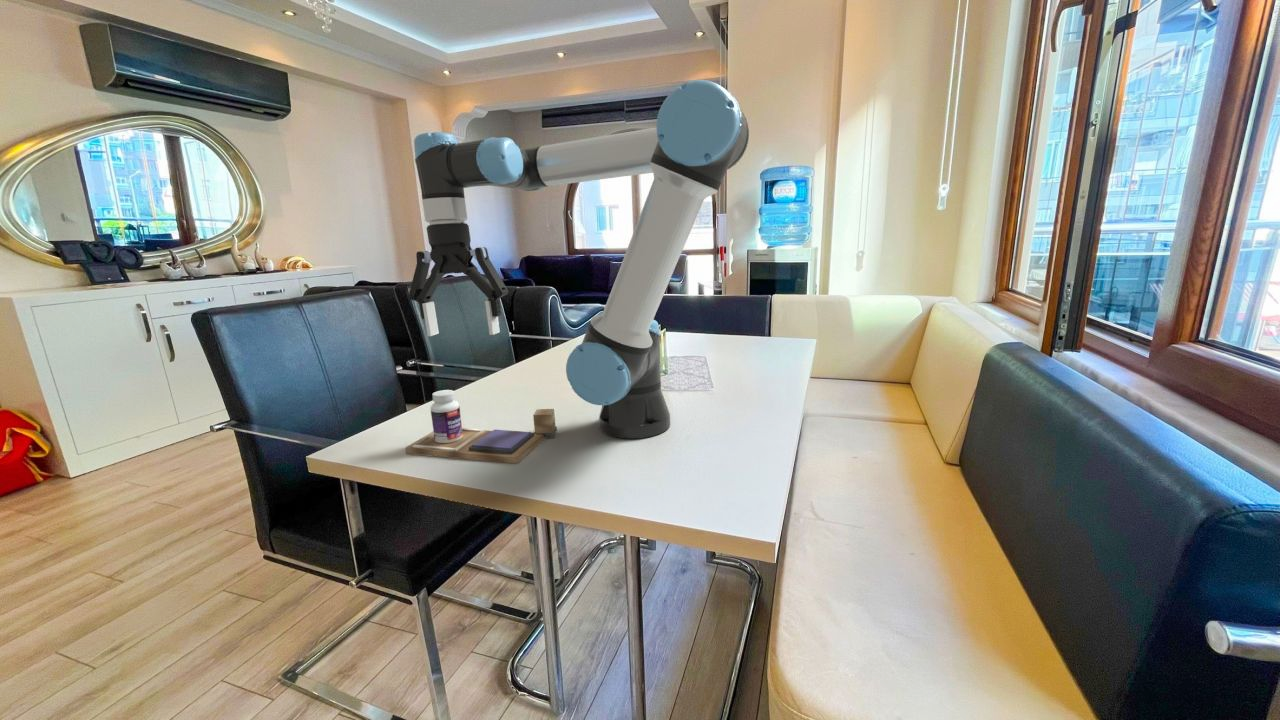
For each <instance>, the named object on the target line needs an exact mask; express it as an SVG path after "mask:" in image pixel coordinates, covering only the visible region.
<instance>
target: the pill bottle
mask: <svg viewBox="0 0 1280 720" xmlns="http://www.w3.org/2000/svg"><path fill="white" fill-rule="evenodd" d="M455 397H456V396H455V391H454V390H452V389H443V390H438V391H435V392H433V393H432V401H433V402H434V403H432V404H431V406H430V415H431V422H432V430H433V431H434V438H435V441H436V442H437V443H452V442H456V441H458V440H460V439H461V438H462V437H463V431H462V428H463V424H462V417H461V407H460V403H459V402H458V401H457V400H456V399H455ZM433 431H432V432H433Z"/></svg>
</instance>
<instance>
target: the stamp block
mask: <svg viewBox="0 0 1280 720" xmlns="http://www.w3.org/2000/svg"><path fill="white" fill-rule="evenodd" d="M555 415H556V414H555V408H540V409H539V408H536V410H535V412H534V413H533V427H534V432H533V433H534V434H542V435H543V437H544V439H554V438H555V436H556V433H557V431H558V428H557V427H558V426H556V416H555Z"/></svg>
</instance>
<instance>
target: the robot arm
mask: <svg viewBox="0 0 1280 720" xmlns="http://www.w3.org/2000/svg"><path fill="white" fill-rule="evenodd" d="M749 129H750V128H749V124H748V121H747V118H746V116H745V113H744V112H743V111H742V109H740V105H739V103H738V100H736V98H735V96H734V95H733V94H732V93H731V92H730V91H729V90H728V89H726V88H724V87H723V86H722V85H720V84H718V83H716V82H713V81H711V80H706V79H696V80H690V81H687V82H685V83H683V84H681V85H679V86H678V87H676V88H675V89H673V91H671V92H670V93H669V94H668V95H667V97H666V98H665V99H664V100H663V102H662V104H661V106H660V108H659V110H658V114H657V117H656V127H650V128H646V129H645V128H644V129H639V130H632V131H627V132H620V133H613V134H607V135H601V136H596V137H590V138H589V137H588V138H583V139H582V138H581V139H576V140H570V141H564V142H558V143H552V144H545V145H541V146H534V147H527V148H519V146H518V144H516V143H515V141H514V140H513V139H512V138H509V137H506V136H505V137H488V138H486V139H479V140H472V141H467V142H459V143H458V140H457V137H456V136H455V135H453V134H451V133H448V132H423V133H420V134H418V135H415V138H414V140H413V146H414V157H415V158H414V163H415V165H416V170H417V176H418V180H419V181H418V182H419V185H420V190H421V191H420V192H421V201H422V202H421V203H422V207H423V208H422V209H423V215H424V221H425V222H426V223H428V225H427V227H426V233H427V239H428V244H429V245H430V248H431V251H430V252H429V251H428V250H423V251H422V250H421V251H420V250H419V251H417V252H416V254H415V255H416V256H415V257H416V265H415V269H414V273H413V277H412V281H411V285H410V289H409V293H408V300H409V301H415V302H417V303H418V306H419V311H420V317H421V318H422V320H424V321H425V322H424V323H425V329H426V334H427V337H433V336H435V335H439V334H440V332H439V331H440V330H439V325H438V319H437V313H436V306H435V301H432V297H433V295H434V294H435V292H436V291H437V287H438V286H439V285H440V283H441V281H442V279H443V277H444V276H445V275H448V274H464V275H465V276H467V277H468V278H469V279H470V280H471V282H473V284H475V286H476V287H477V288H478V289H479V290H480V291H481V293H482V294H483V295H485V296H486V298H487V300H485V301H484V303H485V310H486V319H487V325H488V332H489V333H488V334H489V336H493V335H496V334H498V333H500V332H501V331H500V329H501V328H500V322H499V317H501V316H502V308H501V302H500V299H501V298H503V297H505V296H508V295H509V290H508V288H507V286H506V284H505V283H504V281H503V280H502V278H501V275H500V274H499V273H498V271H497V270H496V268H495V266H494V265H493V263H492V260H491V259H490V256H489V252H488V249H487V247H485V246H483V247H482V246H481V247H476V248H475V249H473V248H472V247H471V234H470V228H469V227H470V225H469V224H468V223H467V222H465V221H467V220H468V213H467V205H466V199H465V198H466V197H465V189H467V188H472V187H473V188H475V187H485V186H487V187H488V186H491V187H499V188H508V189H517V190H522V191H525V192H535V191H540V190H542V189H544V188H548V187H552V186H553V187H554V186H560V185H567V184H575V183H576V184H577V183H582V182H591V181H599V180H605V179H606V180H608V179H614V178H615V179H616V178H621V177H631V176H638V175H645V174H653V181H652V183H651V185H650V189H649V191H648V194H647V197H646V199H645V201H644V204H643V207H642V209H641V212H640V215H639V218H638V221H637V222H636V224H635V228H634V230H633V233H632V236H631V238H630V241H629V244H628V246H627V249H626V251H625V253H624V257H623V259H622V261H621V265H620V266H619V270H618V271H617V272H618V273H617V275H616V278H615V280H614V282H613V284H612V285H613V286H612V288H611V291H610V293H609V296H608V298H607V301H606V304H605V306H604V309H603V311H602V312H601V313H599V314H596V315H594V316H592V317H591V319H590V321H589V324H588V326H587V329H586V331H585V334H584V337H583V339H582V342H581V344H578V345H577V346H575V347H574V349H572V351H571V352H570V353H569V355H568V358H567V360H566V364H565V372H566V373H565V374H566V378H567V381H568V382H569V384H570V386H571V389H572V390H573V391H574V393H575V394H576V395H577V396H578V397H579V398H581V399H582V400H583V401H585V402H587V403H589V404H592V405H595V406H601V409H600V412H599V416H598V417H599V418H598V425H599V430H600V431H601V432H602V434H603V433H604V434H605V435H607V436H610V437H614V438H621V439H642V438H649V437H653V436H657V435H659V434H662V433H664V432H666V431H667V430H669V428H670V427H671V413H670V410H669V408H668V405H667V403H666V400H665V396H664V394H663V391H662V381H661V379H662V378H661V370H662V369H661V342H660V341H661V339H660V338H661V333H660V326H659V323H658V320H655V316H656V313H657V311H658V309H659V307H660V304H661V303H662V299H663V297H664V294H665V293H666V289H668V285H669V283H670V281H671V278H672V276H673V274H674V271H675V268H676V266H677V263H678V262H679V259H680V257H681V255H682V252H683V250H684V247H685V246H686V244H687V240H688V238H689V236H690V233H691V231H692V229H693V226H694V224H695V222H696V219H697V217H698V214H699V212H700V210H701V208H702V204H704V201H705V200H706V198H709V197H710V196H712V195H713V196H714V195H715V194H717V193H718V192H719V190H720V187H721V185H722V183H723V181H724V178H725V176H726V173H727V171H728V170H730V169H731V168H732V167H734V166H736V165H737V163H738V162H739V161H740V160H741V159H742V157H743V156H744V154H745V152H746V150H747V148H748V144H749V138H750V130H749ZM473 258H474V259H475V260H476V261H477V264H478V265H479V267H480V269H481V270H482V272H483V274H484V275H485V276H484V275H483V274H482V273H481V272H480V271H479V270H478V267H477V266H476V265H475V264H474V263H473V262H472V260H473ZM432 261H433V263H434V265H433V267H432V268H431V271H430V274H429V276H428V273H429V270H430V266H431V263H432ZM427 277H428V278H427Z"/></svg>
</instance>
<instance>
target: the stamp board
mask: <svg viewBox="0 0 1280 720" xmlns="http://www.w3.org/2000/svg"><path fill="white" fill-rule="evenodd" d="M462 431H463V437H462V438H461V439H460V440H458V441H456V442H452V443H437V442H436V441H435V438H434V431H431V432H430V433H428V434H426V435H425V436H422V437H421V438H419V439H418V440H416V441H414V442H412V443H411V444H409V445H407V446H405V447H404V449H405V453H406V454H409V455H420V456H431V457H443V458H454V459H464V460H473V461H474V460H475V461H484V462H496V463H507V464H516V465H517V464H519V462H521V461H522V460H523V459H524V458H525V457H527V455H528V454H530V452H532V451H534V450H535V449H536V448H537V447H538V446H540V445H541V443H542V442H543V441H544V440H545V438H544V437H543V435H542V434H534V433H535V432H531V431H521V430H520V431H519V430H509V429H508V430H507V429H493V430H486V429H480V428H465V427H462Z"/></svg>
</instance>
